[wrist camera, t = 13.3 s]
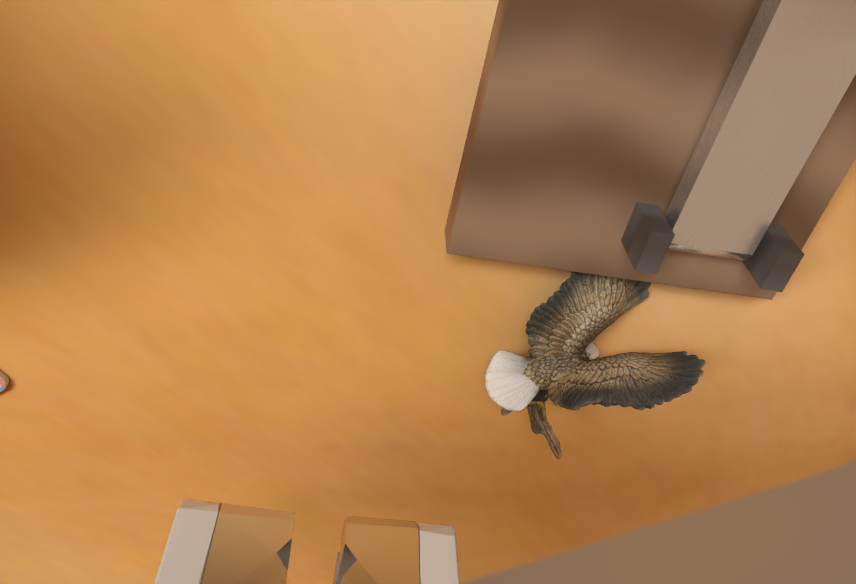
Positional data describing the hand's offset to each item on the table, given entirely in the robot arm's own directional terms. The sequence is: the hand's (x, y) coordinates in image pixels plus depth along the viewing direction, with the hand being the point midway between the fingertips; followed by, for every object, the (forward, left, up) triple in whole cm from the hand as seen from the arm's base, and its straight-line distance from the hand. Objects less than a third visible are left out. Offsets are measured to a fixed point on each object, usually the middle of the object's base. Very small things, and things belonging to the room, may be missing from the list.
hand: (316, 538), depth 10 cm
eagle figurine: (-13, -13, -24) cm, 30 cm away
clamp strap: (+2, -16, -21) cm, 26 cm away
